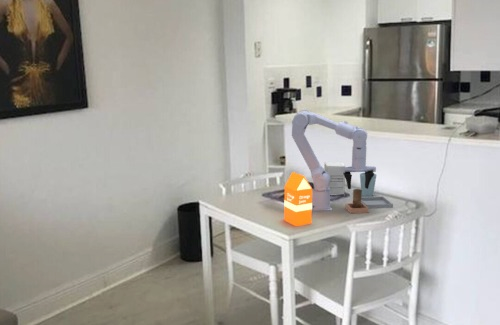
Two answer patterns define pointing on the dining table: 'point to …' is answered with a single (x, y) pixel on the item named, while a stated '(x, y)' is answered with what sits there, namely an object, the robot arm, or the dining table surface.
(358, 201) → the peg
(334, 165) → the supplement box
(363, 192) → the cup
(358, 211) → the orange square open box
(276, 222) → the dining table surface
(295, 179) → the orange juice
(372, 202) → the tray
